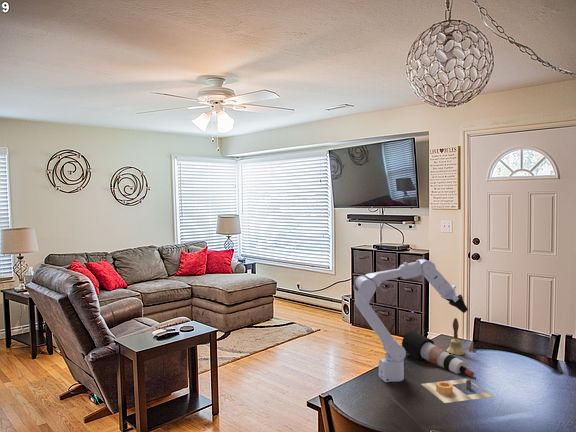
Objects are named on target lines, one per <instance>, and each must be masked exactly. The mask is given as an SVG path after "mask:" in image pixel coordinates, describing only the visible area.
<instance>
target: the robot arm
mask: <svg viewBox="0 0 576 432" xmlns="http://www.w3.org/2000/svg"><path fill="white" fill-rule="evenodd" d="M420 276H423V277H424V278H425V279H426V280H427V282H428V283H429V284H430V285H431V286H432V287H433V289H435V291H436V292H437V293H438V294H439V295H440V297H441V298H442V299H444V300H446V301H448V304H449V305H450V306H453V307H455V308H457V309H458V310H459V311H460V312H461V313H463V314H465V313H466V312H467V311H468V307H467V305H466V304H465V301H464V298H463V295H462V294H461V293H459V295H457V294H456V289H457V286H456V285H455V284H453V285H451V283H450V282H449V281H448V280H447V279H446V278H445V277H444V275H443V274H442V273H441V272H440V271H439V270H438V269H437V266H436V264H435V263H434V262H432V261H431V260H427V259H424V258H419V259H416V260H415V261H412V262H407V261H406V262H405V261H404V262H403V264H400V265H399V266H398V268H394V269H388V270H381V271H376V272H370V273H366V274H365V275H359V276H357V277H356V279H355V281H354V284H353V285H352V287H353V288H352V289H353V291H354V293H353V294H354V303H355V307H356V308H357V310H359V312H360V314H361V315H362V316H363V318H364V319H365V320H366V322H367V323H368V325H369V326H370V327H371V329H372V330H373V331H374V332H375V335H377V337H378V339H379V340H380V342H381V343H382V346H383V350H384V352H385V356H384V358H381V359H379V360H378V377H379V378H380V379H381V380H382V381H383V382H384V383H389V382H402V381H404V379H405V377H404V376H405V374H404V373H405V372H404V371H405V370H404V369H405V366H404V365H405V363H404V361H405V360H404V359H405V358H406V354H407V352H406V351H405V349H404V347H402V344H400V343H399V341H398V340H396V339H395V338H394V337H393V335H392V334H391V332H389V330H388V328H387V327H386V326H385V325H384V323H383V321H382V320H381V318H380V317H379V316H378V314H377V313H376V312H375V310H374V308H372V306H371V305H370V302H371V299H372V297H373V296H374V294H375V293H376V291H377V288H379V287H380V286H381V284H382V282H385V281H390V280H394V279H396V278H400V277H401V278H402V279H403V280H406V279H412V278H415V277H420Z"/></svg>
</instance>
